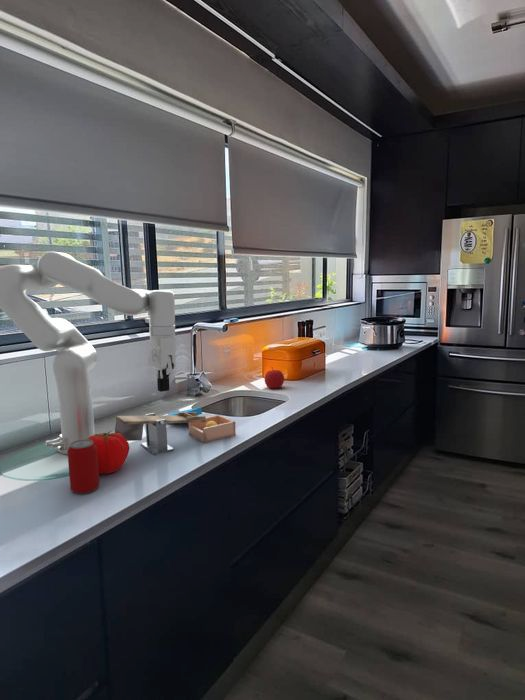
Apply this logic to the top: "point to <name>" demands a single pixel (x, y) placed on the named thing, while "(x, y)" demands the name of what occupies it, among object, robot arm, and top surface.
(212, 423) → the ball
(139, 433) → the lever
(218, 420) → the dish
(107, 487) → the top surface
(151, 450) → the fulcrum
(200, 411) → the blue wedge block
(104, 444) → the tomato
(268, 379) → the apple
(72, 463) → the beverage can
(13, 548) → the top surface
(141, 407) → the top surface
